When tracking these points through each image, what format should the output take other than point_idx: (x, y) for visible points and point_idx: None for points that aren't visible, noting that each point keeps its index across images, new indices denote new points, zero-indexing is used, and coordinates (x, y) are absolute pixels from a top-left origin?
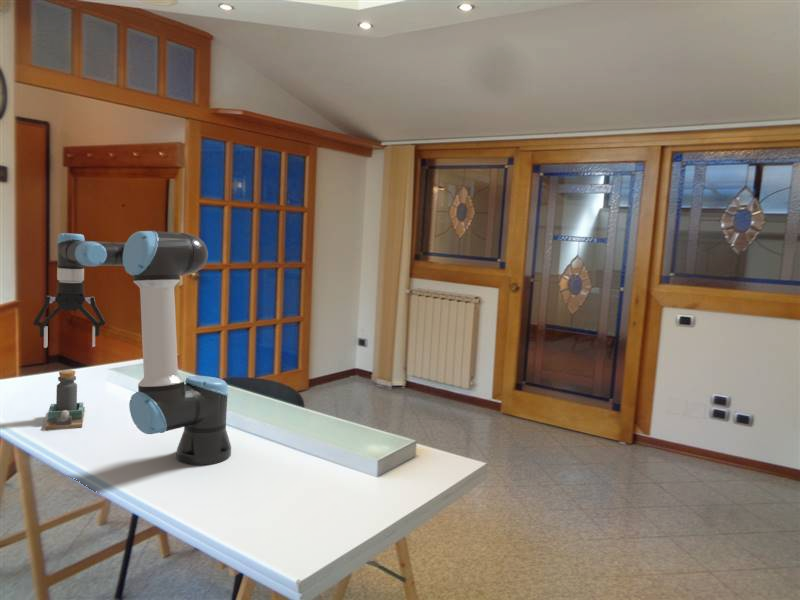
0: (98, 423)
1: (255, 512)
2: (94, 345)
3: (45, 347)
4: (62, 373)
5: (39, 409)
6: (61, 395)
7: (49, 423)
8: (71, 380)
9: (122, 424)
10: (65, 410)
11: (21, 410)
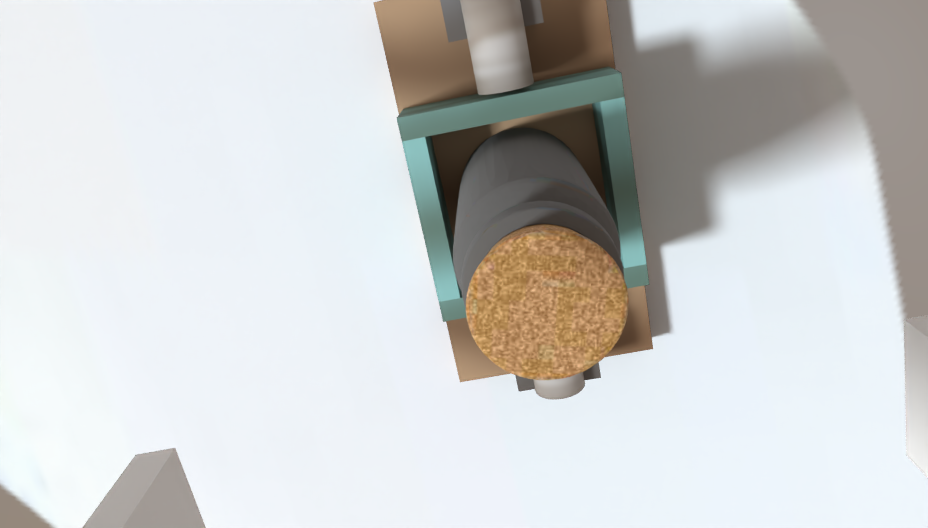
0: (298, 95)
1: None
2: (131, 471)
3: (925, 320)
4: (578, 235)
5: (729, 396)
6: (555, 161)
7: (589, 21)
8: (486, 225)
9: (137, 67)
10: (500, 76)
11: (828, 379)
